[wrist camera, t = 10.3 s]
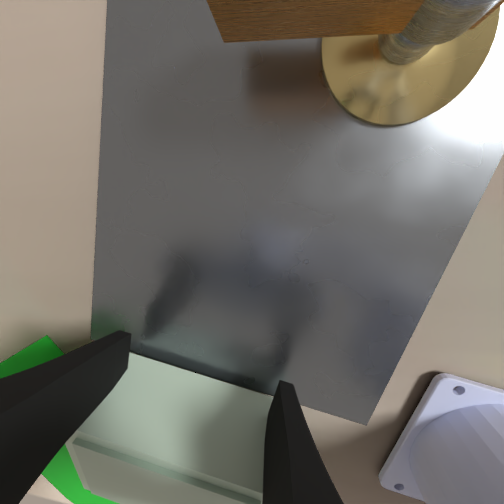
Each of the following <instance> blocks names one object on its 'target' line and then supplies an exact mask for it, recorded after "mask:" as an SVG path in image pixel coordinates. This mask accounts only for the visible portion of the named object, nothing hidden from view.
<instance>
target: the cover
mask: <svg viewBox="0 0 504 504" xmlns="http://www.w3.org/2000/svg"><path fill="white" fill-rule="evenodd" d="M272 400H273V397H271V396H268V395H264V394H261V393H258V392H255V391H252V390H248V389H245V388H242V387H239V386H236V385H232V384H229V383H226V382H223V381H220V380H216V379H213V378H210V377H207V376H204V375H200V374H197V373H194V372H191V371H187V370H184V369H181V368H178V367H175V366H171V365H168V364H165V363H162V362H159V361H155V360H152V359H149V358H146V357H143V356H139V355H136V354H133V353H130V352H129V361H128V369H127V370H126V372H125V373H124V374H123V376H122V377H121V379H120V380H119V382H118V383H117V384H116V386H115V387H114V388H113V390H112V391H111V392H110V393H109V394H108V396H107V397H106V398H105V399H104V400H103V401H102V402H101V403H100V405H99V406H98V407H97V408H96V409H95V410H94V411H93V412H92V414H91V415H90V416H89V417H88V418H87V419H86V420H85V421H84V423H83V424H82V425H81V426H80V427H79V428H78V429H77V430H76V432H75V433H74V434H73V435H72V436H71V437H70V438H69V439H68V441H67V442H66V443H65V445H66V447H67V449H68V452H69V454H70V457H71V459H72V461H73V464H74V466H75V468H76V471H77V473H78V476H79V478H80V480H81V483H82V485H83V487H84V489H86V490H89V491H91V494H94V495H97V496H100V497H103V498H105V499H108V500H111V501H114V502H116V503H119V504H262V501H263V469H264V441H265V432H266V424H267V417H268V412H269V409H270V406H271V403H272Z"/></svg>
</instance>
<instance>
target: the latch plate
mask: <svg viewBox="0 0 504 504" xmlns="http://www.w3.org/2000/svg"><path fill="white" fill-rule="evenodd" d="M503 153H504V3H503V4H502V5H501V6H499V7H498V8H497V9H496V10H495V11H494V12H492V13H491V14H490V15H489V16H488V17H487V18H486V19H484V20H483V21H482V22H481V23H480V24H479V25H477V26H476V27H475V28H474V29H470V30H467V31H466V32H465V33H463V34H462V35H460V36H459V37H457V38H455V39H453V40H451V41H448V42H446V43H443V44H439V45H435V46H434V47H433V48H432V49H431V50H430V51H429V52H428V53H427V54H426V55H424V56H423V57H422V58H420V59H419V60H417V61H415V62H412V63H408V64H397V63H394V62H391V61H390V60H388V59H387V58H386V57H385V56H384V55H383V53H382V51H381V49H380V46H379V42H378V35H360V36H342V37H323V38H305V39H287V40H268V41H250V42H231V43H224V42H223V39H222V37H221V34H220V32H219V30H218V27H217V25H216V22H215V20H214V18H213V15H212V13H211V10H210V8H209V5H208V3H207V1H206V0H107V17H106V38H105V58H104V78H103V98H102V118H101V139H100V159H99V179H98V199H97V219H96V239H95V260H94V280H93V300H92V320H91V339H92V340H95V341H96V340H98V339H100V338H103V337H105V336H107V335H109V334H111V333H114V332H116V331H118V330H121V331H125V332H128V333H131V343H130V352H133V353H136V354H140V355H143V356H146V357H149V358H152V359H156V360H159V361H162V362H165V363H168V364H172V365H175V366H178V367H181V368H184V369H187V370H191V371H194V372H197V373H200V374H203V375H207V376H210V377H213V378H216V379H219V380H223V381H226V382H229V383H232V384H235V385H239V386H242V387H245V388H248V389H251V390H255V391H258V392H261V393H264V394H267V395H271V396H274V395H275V392H276V389H277V386H278V383H279V380H282V381H285V382H288V383H292V384H293V385H294V387H295V390H296V394H297V397H298V400H299V403H300V405H302V406H306V407H309V408H312V409H315V410H318V411H322V412H325V413H328V414H331V415H334V416H338V417H341V418H344V419H347V420H350V421H354V422H357V423H360V424H363V425H367V423H368V422H369V420H370V418H371V416H372V414H373V412H374V410H375V408H376V406H377V404H378V402H379V400H380V398H381V396H382V394H383V392H384V390H385V388H386V386H387V384H388V382H389V380H390V378H391V376H392V374H393V372H394V370H395V368H396V366H397V364H398V362H399V360H400V358H401V356H402V354H403V352H404V350H405V348H406V346H407V344H408V342H409V340H410V338H411V336H412V334H413V332H414V330H415V328H416V326H417V324H418V322H419V320H420V318H421V316H422V314H423V312H424V310H425V308H426V306H427V304H428V302H429V300H430V298H431V296H432V294H433V292H434V290H435V288H436V287H437V285H438V283H439V281H440V279H441V277H442V275H443V273H444V271H445V269H446V267H447V265H448V263H449V261H450V259H451V257H452V255H453V253H454V251H455V249H456V247H457V245H458V243H459V241H460V239H461V237H462V235H463V233H464V231H465V229H466V227H467V225H468V223H469V221H470V219H471V217H472V215H473V213H474V211H475V209H476V207H477V205H478V203H479V201H480V199H481V197H482V195H483V193H484V191H485V189H486V187H487V185H488V183H489V181H490V179H491V177H492V175H493V173H494V171H495V169H496V167H497V165H498V163H499V161H500V159H501V157H502V155H503Z"/></svg>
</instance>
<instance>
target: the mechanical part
mask: <svg viewBox="0 0 504 504" xmlns="http://www.w3.org/2000/svg"><path fill="white" fill-rule="evenodd" d="M62 355H64V353H63V352H62V351H61V350H60V349H59V348H58V347H57V346H56V345H55V343H54V342H53V341H52V340H51V339H50V338H49V337H48V336H47V335H46V336H45V337H43V338H41V339H40V340H38V341H36V342H35V343H33V344H31V345H30V346H28V347H27V348H25V349H23V350H22V351H20V352H18V353H17V354H15V355H13V356H12V357H10V358H8V359H7V360H5V361H3V362H2V363H0V378H3V377H6V376H9V375H12V374H15V373H18V372H21V371H24V370H26V369H29V368H32V367H35V366H37V365H40V364H42V363H45V362H47V361H50V360H52V359H54V358H57V357H59V356H62ZM41 474H42V475H43V476H44V477H45V478H46V479H47V480H48V481H49V482H50V483H51V484H52V485H53V486H54V487H55V488H56V489H58V490H59V491H60V492H61V493H62V494H63V495H64V496H65V497H66V498H67V499H68V500H70V501H71V502H72V503H74V504H119V503H116V502H114V501H111V500H108V499H105V498H103V497H100V496H97V495H94V494H91V491H89V490H86V489H84V487H83V485H82V483H81V480H80V478H79V476H78V473H77V471H76V468H75V466H74V464H73V461H72V459H71V457H70V454H69V452H68V449H67V447H66V445H65V444H64V445H63V446H62V448H61V449H60V450H59V451H58V452H57V454H56V455H55V456H54V458H53V459H52V460H51V461H50V463H49V464H48V465H47V467H46V468H45V469H44V471H43V472H42V473H41Z"/></svg>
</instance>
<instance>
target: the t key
mask: <svg viewBox="0 0 504 504" xmlns="http://www.w3.org/2000/svg"><path fill="white" fill-rule="evenodd" d="M206 1H207V3H208V5H209V8H210V10H211V13H212V15H213V18H214V20H215V22H216V25H217V27H218V30H219V32H220V34H221V37H222V39H223V42H224V43H231V42H250V41H268V40H287V39H305V38H323V37H342V36H360V35H378V42H379V46H380V49H381V51H382V53H383V55H384V56H385V57H386V58H387V59H388V60H390V61H391V62H394V63H397V64H408V63H412V62H415V61H417V60H419V59H420V58H422V57H423V56H424V55H426V54H427V53H428V52H429V51H430V50H431V49H432V48H433V47H434V46H435V45H439V44H443V43H446V42H448V41H451V40H453V39H455V38H457V37H459V36H460V35H462V34H463V33H465V32H466V31H467V30H470V29H474V28H475V27H476V26H477V25H479V24H480V23H481V22H482V21H483V20H484V19H486V18H487V17H488V16H489V15H490V14H491V13H492V12H494V11H495V10H496V9H497V8H498V7H499V6H501V5H502V4H503V3H504V0H206Z"/></svg>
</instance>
